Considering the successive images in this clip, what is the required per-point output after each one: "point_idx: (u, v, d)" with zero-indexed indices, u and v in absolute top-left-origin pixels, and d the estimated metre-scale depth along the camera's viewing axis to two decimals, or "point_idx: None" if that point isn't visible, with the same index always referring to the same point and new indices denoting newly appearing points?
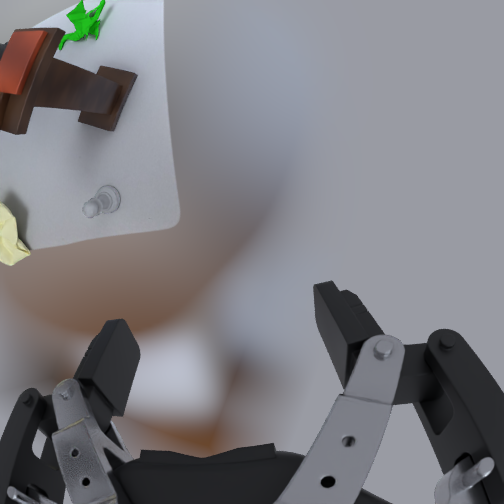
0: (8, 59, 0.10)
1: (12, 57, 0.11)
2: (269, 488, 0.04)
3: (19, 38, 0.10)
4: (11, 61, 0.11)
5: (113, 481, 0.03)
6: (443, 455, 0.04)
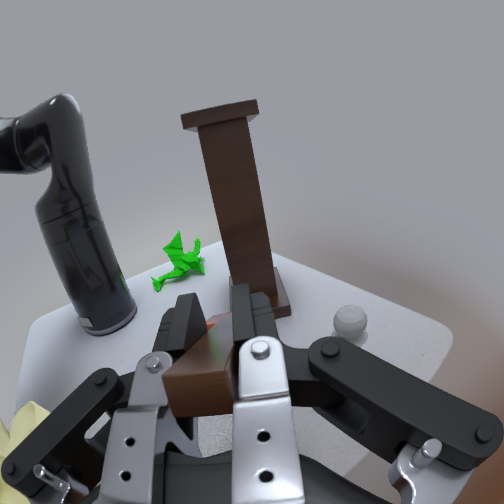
0: None
1: None
2: None
3: None
4: None
5: (156, 487, 0.03)
6: (378, 449, 0.05)
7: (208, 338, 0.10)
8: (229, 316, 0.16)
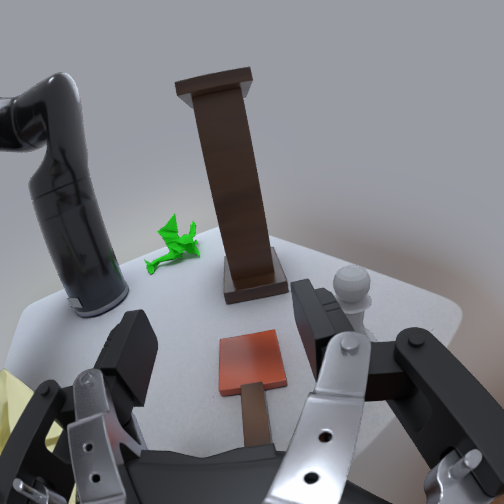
0: (237, 358, 0.21)
1: (244, 355, 0.21)
2: (269, 488, 0.04)
3: (240, 340, 0.23)
4: (246, 358, 0.21)
5: (125, 481, 0.03)
6: (427, 450, 0.04)
7: None
8: (248, 394, 0.17)
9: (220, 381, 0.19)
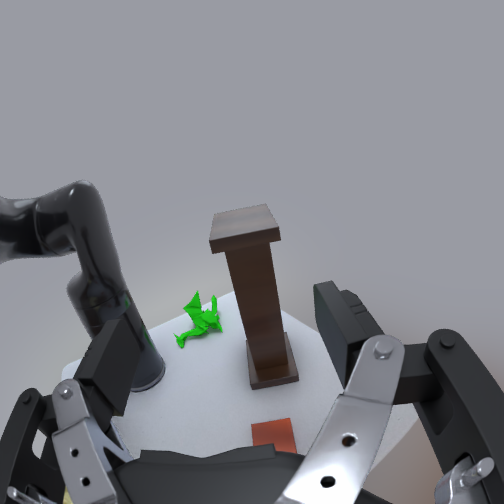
0: (265, 440, 0.27)
1: (269, 438, 0.27)
2: (269, 488, 0.04)
3: (265, 426, 0.29)
4: (271, 440, 0.27)
5: (113, 481, 0.03)
6: (443, 455, 0.04)
7: None
8: None
9: None
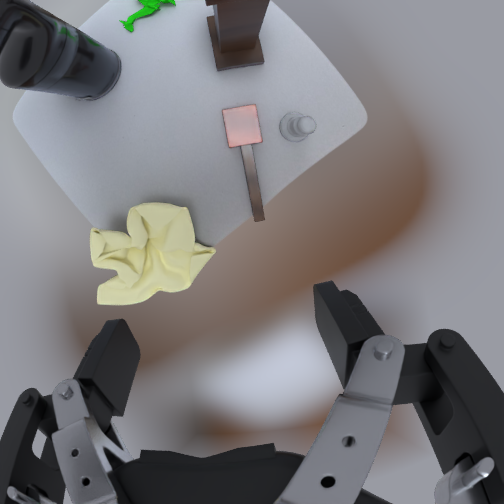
0: (235, 126, 0.37)
1: (239, 124, 0.37)
2: (269, 488, 0.04)
3: (235, 112, 0.36)
4: (241, 126, 0.37)
5: (114, 481, 0.03)
6: (443, 455, 0.04)
7: (252, 195, 0.41)
8: (245, 152, 0.38)
9: (229, 142, 0.38)
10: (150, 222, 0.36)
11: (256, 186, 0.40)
